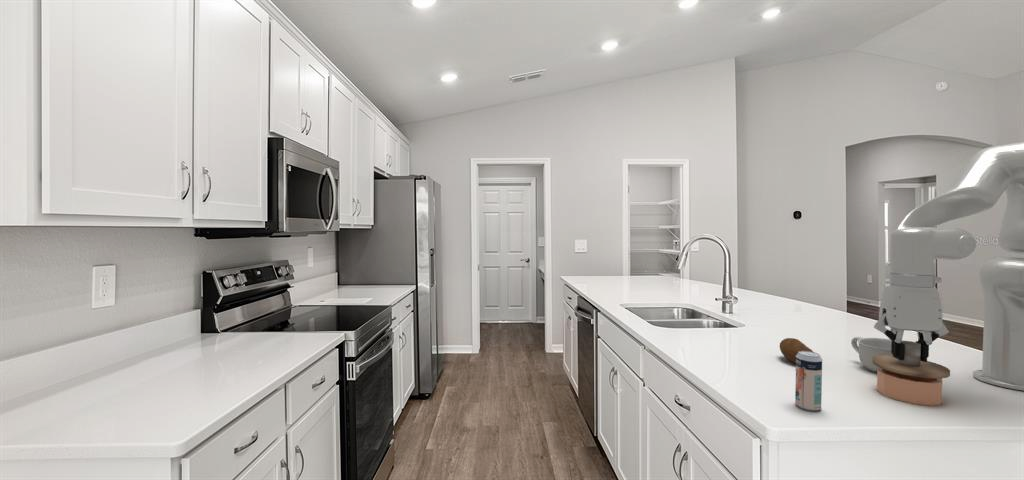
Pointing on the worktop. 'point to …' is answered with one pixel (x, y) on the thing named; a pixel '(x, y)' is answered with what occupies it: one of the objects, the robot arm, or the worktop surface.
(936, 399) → the bowl
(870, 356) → the teacup
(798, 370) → the beer can
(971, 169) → the robot arm
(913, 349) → the lid
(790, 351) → the potato
